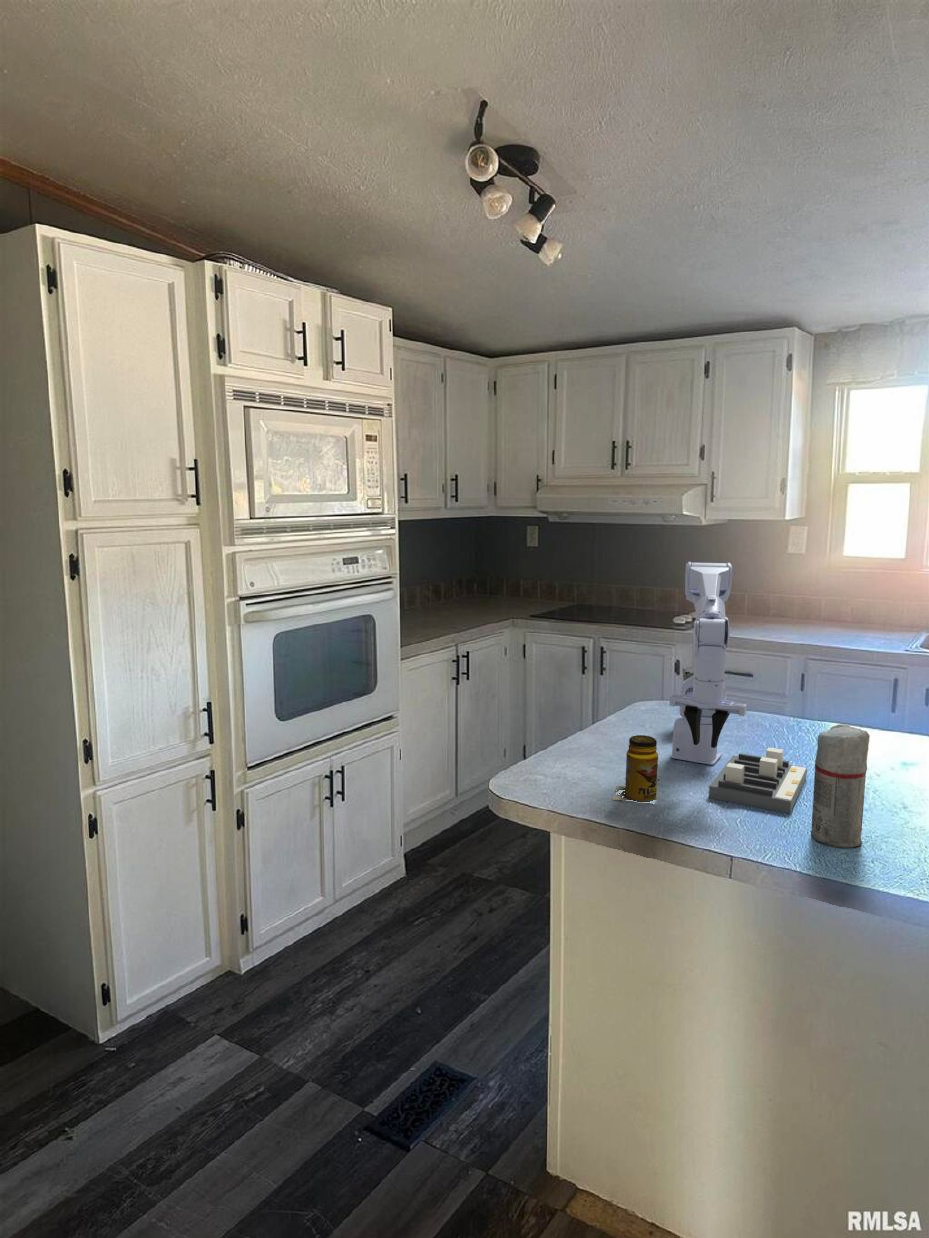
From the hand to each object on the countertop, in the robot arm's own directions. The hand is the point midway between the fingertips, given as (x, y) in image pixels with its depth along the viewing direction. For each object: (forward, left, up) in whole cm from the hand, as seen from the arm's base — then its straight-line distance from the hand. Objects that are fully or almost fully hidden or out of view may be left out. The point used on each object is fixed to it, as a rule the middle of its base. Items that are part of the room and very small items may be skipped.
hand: (705, 745), depth 156 cm
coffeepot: (-11, +44, -10) cm, 46 cm away
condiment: (-10, -10, -10) cm, 17 cm away
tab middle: (+11, +7, -7) cm, 15 cm away
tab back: (+11, +14, -7) cm, 19 cm away
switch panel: (+10, +7, -9) cm, 15 cm away
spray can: (+26, -11, -10) cm, 29 cm away
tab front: (+6, 0, -7) cm, 9 cm away
